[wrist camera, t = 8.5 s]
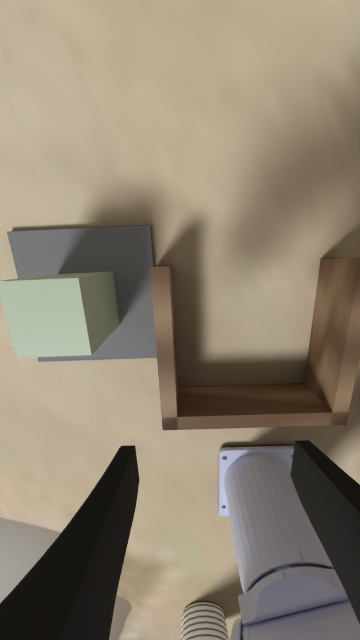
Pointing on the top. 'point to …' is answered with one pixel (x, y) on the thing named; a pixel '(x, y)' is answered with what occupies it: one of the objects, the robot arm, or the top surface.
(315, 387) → the wooden u-shaped shelf
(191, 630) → the cup
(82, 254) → the mat
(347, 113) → the top surface
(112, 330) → the block
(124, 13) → the top surface
